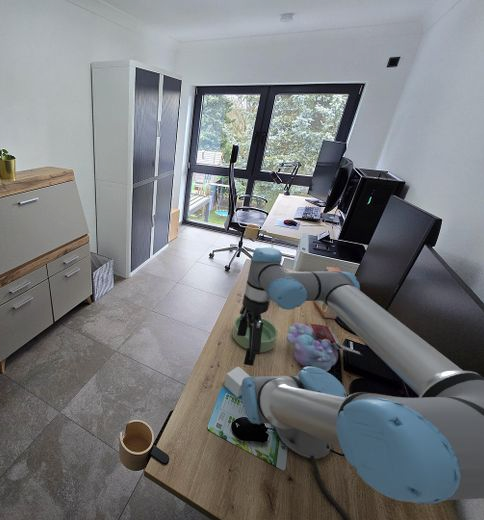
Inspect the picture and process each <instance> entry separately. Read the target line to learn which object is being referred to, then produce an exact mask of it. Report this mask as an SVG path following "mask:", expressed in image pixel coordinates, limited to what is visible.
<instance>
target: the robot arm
mask: <svg viewBox="0 0 484 520" xmlns="http://www.w3.org/2000/svg"><path fill="white" fill-rule="evenodd" d="M282 253H283V252H282V251H280V250H279V249H277V248H275V247H272V246H258V247H256V248H254V250H253V254H252V256H251V259H250V265H249V270H248V275H247V278H246V279H247V280H246V283H245V288H244V294H243V298H242V302H241V304H242V306H241V309H240V310H239V315H240V316H239V317H240V318H241V320H240V323H239V328H238V333H237V336H246V331H247V327H248V328H249V348H247V349H246V348H245V351H246V352H245V356H244V360H243V365H244V366H252V367H253V366H254V365H255V360H256V357H257V355H260V354H261V352H260V347H261V335H262V327H263V322H260V320H261V318H262V314H264V313H266V312H267V311H268V310H269V307H270V303H271V301H272V302H274V303H275V304H276V305H277V306H278V307H279V308H281V309H283V310H288V311H291V310H295V308H299V307H301V306H302V305H303V304H305V302H314V301H323V302H324V303H325V304H326V305H327V306H328V307H329V308H330V309H331V310H332V311H333V312H334V313H335V314H336V315H337V318H339V319H340V320H341V321H342V322H343V323H344V324H345V325H346V326H347V327H348V328H349V329H350V330H351V331H352V332H354V334H355V335H356V336H358V338H360V340H361V341H362V342H363V343H364V344H366V346H368V347H369V348H370V349H371V350H372V352H374V354H376V355H377V356H378V357H379V358H380V359H381V360H382V361H383V363H385V364H386V365H387V366H388V367H389V368H390V369H391V370H392V371H393V372H394V373H395V374H396V375H397V376H398V377H399V378H400V379H401V380H402V381H403V382H404V383H405V384H406V385H407V386H408V387H409V388H410V389H411V390H412V391H413V392H414V393H415V394H416V395H417V396H418V397H402V396H392V395H386V394H380V393H374V392H373V393H372V392H368V391H367V392H366V391H359V392H354V393H351V394H350V395H347V391H346V388H345V387H344V385H343V384H342V382H341V381H340V380H338V378H336V377H335V376H334V375H333V374H331V373H329V372H328V371H327V372H326V371H324V370H322V369H320V368H317V367H312V366H311V365H309V366H303V368H301V369H300V370H299V372H298V374H297V375H268V376H266V375H265V376H263V375H261V376H254V375H252V376H250V377H246V378H244V379H243V381H242V386H241V393H242V395H241V401H242V406H243V410H244V413H245V416H246V418H247V421H249V422H250V423H251V424H254V425H255V424H256V425H261V424H268V425H271V426H273V427H274V430H275V431H274V432H275V433H276V435H277V437H278V439H279V440H280V442H281V443H282V444H283V445H284V446H285V447H286V448H287V449H288V450H289V451H291V452H292V453H294V454H295V455H297V456H298V457H300V458H303V459H307V460H310V461H311V463H312V466H313V469H314V475H315V477H316V481H317V483H318V485H319V487H320V490H322V492H323V494H324V495H325V496H326V497H327V499H328V500H329V501H330V502H331V504H332V505H333V506H334V507H335V508H336V509H337V511H338V512H339V513H340V514H341V516H342V517H343V519H344V520H351V519H350V517H349V516H348V514H347V513H346V511H345V510H344V509H343V508H342V507H341V505H340V504H339V502H337V501H336V500H335V499H334V497H333V496H332V495H331V494H330V492H329V491H328V490H327V488H326V487H325V485H324V482H323V481H322V479H321V474H320V471H319V467H318V463H317V461H319V460H322V459H324V458H326V457H327V456H328V455H329V453H330V451H331V449H332V445H333V446H335V447H338V448H340V449H341V451H342V453H343V455H344V457H345V458H346V460H347V462H348V464H349V465H350V466H351V468H352V467H353V468H356V472H357V473H356V474H357V475H358V477H359V478H360V479H361V480H363V481H364V483H366V484H367V485H368V486H369V487H371V488H372V489H373V490H375V491H376V492H378V493H380V494H381V495H383V496H385V497H387V498H390V499H393V500H396V501H400V502H406V503H407V502H408V503H414V504H421V505H432V504H439V503H441V502H444V501H456V500H477V499H478V500H480V499H483V500H484V377H483V376H482V375H481V374H479V373H478V372H475V371H471V370H463V369H462V368H460V367H459V366H458V365H456V364H455V363H454V362H452V360H450V359H449V358H448V357H446V356H445V355H443V353H441V352H440V351H438V349H436V348H435V347H433V346H432V345H431V344H429V342H427V341H426V340H424V339H423V338H422V337H420V336H419V335H418V334H417V333H415V332H414V331H413V330H411V328H409V327H407V326H406V325H405V324H404V323H402V322H401V321H400V320H398V318H396V317H395V316H394V315H392V314H391V313H390V312H388V311H387V310H386V309H385V308H383V307H382V306H381V305H379V304H378V303H377V302H375V301H374V300H373V299H371V298H370V297H369V296H367V294H365V293H364V292H363V291H361V290H360V289H361V288H360V287H361V286H360V282H359V281H358V280H357V276H356V275H355V274H353V273H352V272H349V271H342V272H340V271H288V270H287V269H286V268H285V267H283V265H282V264H281V263H282V262H283V254H282ZM250 324H253V325H250Z"/></svg>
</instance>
